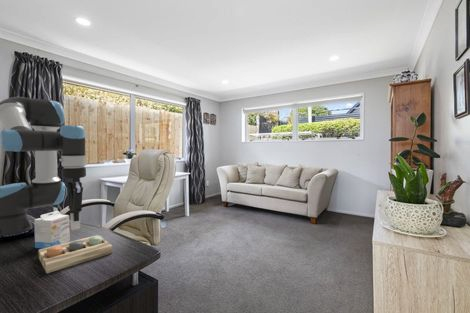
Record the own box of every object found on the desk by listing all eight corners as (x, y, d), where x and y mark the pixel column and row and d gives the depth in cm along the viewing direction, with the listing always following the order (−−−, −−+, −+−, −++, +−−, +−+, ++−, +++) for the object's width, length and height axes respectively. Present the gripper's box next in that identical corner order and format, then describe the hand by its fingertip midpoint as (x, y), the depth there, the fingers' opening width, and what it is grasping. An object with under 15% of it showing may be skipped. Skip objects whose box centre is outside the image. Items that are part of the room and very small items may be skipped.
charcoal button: (67, 251, 88) (67, 242, 88) (81, 247, 91) (81, 239, 91) (70, 254, 85) (70, 246, 85) (84, 251, 88) (84, 242, 88)
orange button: (45, 257, 83) (45, 248, 83) (61, 253, 86) (60, 244, 86) (48, 261, 80) (47, 252, 80) (63, 257, 83) (63, 248, 83)
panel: (38, 257, 86) (38, 249, 86) (98, 241, 101) (98, 234, 101) (46, 273, 75) (46, 264, 75) (112, 252, 90) (112, 245, 90)
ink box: (51, 249, 93) (50, 216, 92) (34, 247, 95) (33, 215, 94) (70, 241, 101) (69, 210, 101) (54, 239, 103) (53, 209, 103)
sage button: (87, 245, 93) (87, 238, 92) (99, 242, 96) (99, 234, 96) (90, 249, 90) (90, 241, 90) (103, 245, 93) (103, 237, 93)
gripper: (57, 166, 89) (59, 227, 90) (65, 169, 80) (67, 236, 81) (80, 165, 94) (82, 222, 96) (90, 167, 85) (92, 230, 87)
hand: (75, 228), depth 88 cm, fingers closed
